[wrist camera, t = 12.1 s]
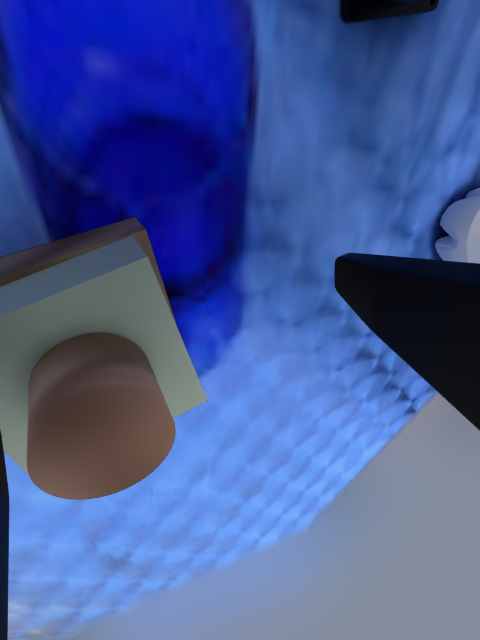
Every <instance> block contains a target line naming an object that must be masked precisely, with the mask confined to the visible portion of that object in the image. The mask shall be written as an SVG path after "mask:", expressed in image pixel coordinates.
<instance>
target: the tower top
mask: <svg viewBox="0 0 480 640" xmlns="http://www.w3.org/2000/svg"><path fill="white" fill-rule="evenodd" d="M93 333H106V334H113V335H118V336H121V337H124V338H126V339H128V340H130V341H132V342H134V343H135V344H137V345H138V346H139V347H140V348H141V349H142V350H143V351H144V353H145V354H146V356H147V358H148V360H149V362H150V365H151V367H152V370H153V372H154V374H155V377H156V379H157V382H158V384H159V386H160V389H161V391H162V393H163V396H164V398H165V401H166V403H167V405H168V408H169V410H170V413H171V415H172V417H173V418H175V417H177V416H179V415H181V414H183V413H185V412H187V411H188V410H190V409H192V408H194V407H196V406H198V405H200V404H201V403H203V402H205V401H207V397H206V395H205V393H204V390H203V388H202V386H201V383H200V381H199V378H198V376H197V374H196V371H195V369H194V366H193V364H192V362H191V359H190V357H189V354H188V352H187V350H186V347H185V345H184V343H183V340H182V338H181V335H180V333H179V331H178V328H177V326H176V323H175V321H174V319H173V316H172V314H171V311H170V309H169V307H168V304H167V302H166V299H165V297H164V295H163V292H162V290H161V288H160V285H159V283H158V280H157V278H156V276H155V273H154V271H153V268H152V266H151V264H150V261H149V259H148V256H147V255H146V254H145V252H144V251H143V250H142V248H141V247H140V245H139V244H138V243H137V241H136V240H135V239H134V237H133V236H132V235H131V236H129V237H126V238H124V239H121V240H118V241H116V242H113V243H111V244H108V245H106V246H103V247H101V248H98V249H95V250H93V251H90V252H88V253H85V254H83V255H80V256H77V257H75V258H72V259H70V260H67V261H65V262H62V263H60V264H57V265H54V266H52V267H49V268H47V269H44V270H42V271H39V272H36V273H34V274H31V275H29V276H26V277H24V278H21V279H19V280H16V281H13V282H11V283H8V284H6V285H3V286H1V287H0V430H1V434H2V442H3V450H4V452H5V453H6V454H7V455H8V456H9V457H10V458H12V459H13V460H14V461H15V462H16V463H17V464H18V465H19V466H20V467H21V468H22V469H24V470H25V471H26V472H27V473H28V470H27V432H28V396H29V380H30V376H31V373H32V370H33V369H34V367H35V365H36V363H37V362H38V361H39V360H40V358H41V357H42V356H43V355H44V354H45V353H46V352H48V351H49V350H50V349H51V348H53V347H54V346H56V345H58V344H59V343H61V342H63V341H66V340H68V339H70V338H73V337H76V336H80V335H85V334H93Z"/></svg>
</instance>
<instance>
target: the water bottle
mask: <svg viewBox="0 0 480 640" xmlns="http://www.w3.org/2000/svg"><path fill="white" fill-rule="evenodd" d="M440 225H441V226H442V228H443V229H444V230H445V231H446V232H447V233H448V234H449V236H446V237H442V238H440V239H438V240H436V243H435V247H436V251H437V253H438V254H439V256H440V257H441V258H442V259H443V261H455V262H467V263H479V264H480V188H478V189H475V190H472V191H470V192H469V193H468V194H467V195H466V197H465V199H462V200H459V201H456V202H454V203H453V204H452V205H450V206H449V207H448V208H447V209H446V211H445V212H444V214H443V215H442V217H441V222H440Z"/></svg>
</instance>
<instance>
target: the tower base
mask: <svg viewBox="0 0 480 640" xmlns="http://www.w3.org/2000/svg"><path fill="white" fill-rule="evenodd" d="M131 235H132V236H133V237H134V239H135V240H136V241H137V243H138V244H139V245H140V247H141V248H142V250H143V251H144V252H145V254H146V255H147V256H148V259H149V261H150V264H151V266H152V268H153V271H154V273H155V276H156V278H157V280H158V283H159V285H160V288H161V290H162V292H163V295H164V297H165V299H166V302H167V304H168V307H169V309H170V311H171V314H172V316H173V312H172V309H171V306H170V303H169V300H168V297H167V294H166V291H165V287H164V284H163V281H162V278H161V275H160V272H159V269H158V265H157V262H156V259H155V256H154V253H153V250H152V247H151V243H150V240H149V237H148V234H147V231H146V229H145V228H144V227H143V226H142V224H141V223H140V222H139V221H138V220H137V219H136V218H135V217H133V218H130V219H126V220H123V221H120V222H116V223H113V224H110V225H106V226H103V227H100V228H96V229H93V230H90V231H87V232H83V233H80V234H77V235H73V236H70V237H67V238H63V239H60V240H57V241H53V242H50V243H47V244H43V245H40V246H37V247H33V248H30V249H27V250H23V251H20V252H17V253H13V254H10V255H7V256H3V257H0V287H1V286H3V285H6V284H8V283H11V282H13V281H16V280H19V279H21V278H24V277H26V276H29V275H31V274H34V273H36V272H39V271H42V270H44V269H47V268H49V267H52V266H54V265H57V264H60V263H62V262H65V261H67V260H70V259H72V258H75V257H77V256H80V255H83V254H85V253H88V252H90V251H93V250H95V249H98V248H101V247H103V246H106V245H108V244H111V243H113V242H116V241H118V240H121V239H124V238H126V237H129V236H131ZM173 319H174V316H173ZM174 321H175V319H174ZM175 323H176V322H175ZM176 326H177V325H176Z"/></svg>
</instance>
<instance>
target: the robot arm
mask: <svg viewBox="0 0 480 640" xmlns="http://www.w3.org/2000/svg"><path fill="white" fill-rule="evenodd" d="M438 3H439V0H342V17H343V20H344V21H345V22H346V23H355V22H362V21H369V20H376V19H383V18H390V17H397V16H404V15H412V14H419V13H426V12H430V11H433V10H435V8H436V7H437V5H438ZM351 6H353V14H351ZM335 288H336V290H337V292H338V293H339V294H340V296H341V297H342V298H343V299H344V300H345V301H346V302H347V304H348V305H349V306H350V307H351V308H352V309H353V310H354V312H355V313H356V314H357V315H358V316H359V317H360V318H361V320H362V321H363V322H364V323H365V324H366V325H367V326H368V327H369V328H370V329H371V330H372V331H373V332H374V333H375V334H376V335H377V336H378V337H379V338H380V339H381V340H382V341H383V342H384V343H385V344H387V345H388V346H389V347H390V348H391V349H392V350H393V351H394V352H395V353H396V354H397V355H398V356H400V357H401V358H402V359H403V360H404V361H405V362H406V363H407V364H408V365H409V366H410V367H411V368H412V369H414V370H415V371H416V372H417V373H418V374H419V375H420V376H421V377H422V378H423V379H424V380H425V381H427V382H428V383H429V384H430V385H431V386H432V387H433V388H434V389H435V390H436V391H437V392H438V393H440V394H441V395H442V396H443V397H444V398H445V399H446V400H447V401H448V402H449V403H450V404H451V405H453V406H454V407H455V408H456V409H457V410H458V411H459V412H460V413H461V414H462V415H463V416H464V417H466V418H467V419H468V420H469V421H470V422H471V423H472V424H473V425H474V426H475V427H476V428H477V429H479V430H480V264H479V263H467V262H455V261H443V260H432V259H420V258H408V257H396V256H384V255H372V254H360V253H347V254H345V255H342V256H340V257H338V258H337V259H336V260H335ZM8 562H9V492H8V482H7V474H6V466H5V458H4V450H3V442H2V434H1V430H0V640H7V634H8Z"/></svg>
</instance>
